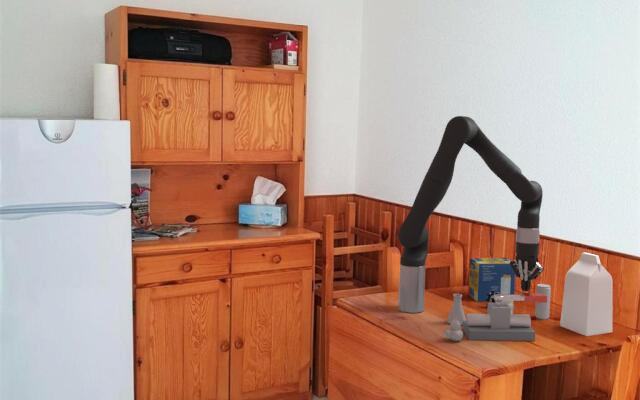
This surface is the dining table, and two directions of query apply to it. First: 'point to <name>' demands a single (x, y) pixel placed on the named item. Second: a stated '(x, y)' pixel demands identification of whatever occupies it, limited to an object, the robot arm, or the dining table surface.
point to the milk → (588, 297)
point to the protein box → (490, 278)
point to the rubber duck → (454, 331)
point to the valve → (509, 303)
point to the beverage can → (543, 308)
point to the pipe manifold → (499, 325)
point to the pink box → (522, 297)
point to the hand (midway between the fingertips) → (525, 290)
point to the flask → (457, 310)
